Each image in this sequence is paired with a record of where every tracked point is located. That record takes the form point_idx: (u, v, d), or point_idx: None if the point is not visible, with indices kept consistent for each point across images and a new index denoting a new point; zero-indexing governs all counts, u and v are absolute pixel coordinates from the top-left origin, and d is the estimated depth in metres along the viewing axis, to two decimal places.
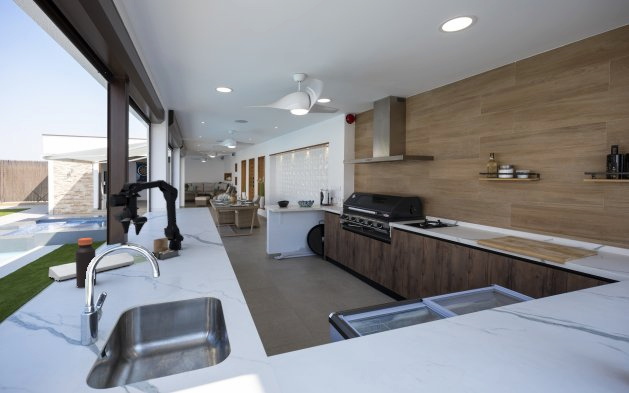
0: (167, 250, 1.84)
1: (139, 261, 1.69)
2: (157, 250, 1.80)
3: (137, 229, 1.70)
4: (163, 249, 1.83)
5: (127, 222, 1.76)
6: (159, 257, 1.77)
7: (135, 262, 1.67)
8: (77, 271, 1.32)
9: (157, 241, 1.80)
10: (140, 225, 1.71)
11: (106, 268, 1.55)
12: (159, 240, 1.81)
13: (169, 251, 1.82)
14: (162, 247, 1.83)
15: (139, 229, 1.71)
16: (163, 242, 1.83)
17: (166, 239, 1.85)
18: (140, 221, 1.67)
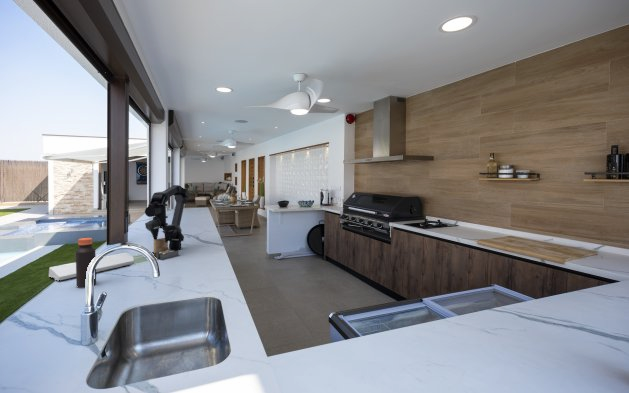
0: (167, 250, 1.84)
1: (139, 261, 1.69)
2: (157, 250, 1.80)
3: (166, 237, 1.79)
4: (163, 249, 1.83)
5: (156, 230, 1.85)
6: (159, 257, 1.77)
7: (135, 262, 1.67)
8: (77, 271, 1.32)
9: (157, 241, 1.80)
10: (169, 233, 1.81)
11: (106, 268, 1.55)
12: (159, 240, 1.81)
13: (169, 251, 1.82)
14: (162, 247, 1.83)
15: (168, 237, 1.81)
16: (163, 242, 1.83)
17: None
18: (170, 229, 1.77)
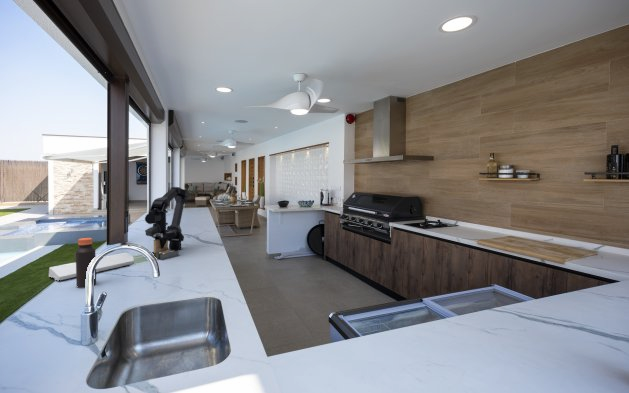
0: (167, 250, 1.84)
1: (139, 261, 1.69)
2: (157, 250, 1.80)
3: (162, 243, 1.81)
4: (163, 249, 1.83)
5: None
6: (159, 257, 1.77)
7: (135, 262, 1.67)
8: (77, 271, 1.32)
9: (157, 241, 1.80)
10: (165, 239, 1.82)
11: (106, 268, 1.55)
12: (159, 240, 1.81)
13: (169, 251, 1.82)
14: None
15: (164, 243, 1.82)
16: None
17: None
18: (170, 236, 1.77)
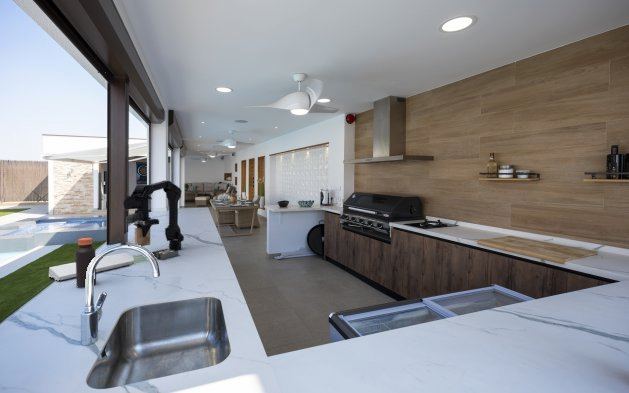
0: (167, 250, 1.84)
1: (139, 261, 1.69)
2: (138, 239, 1.69)
3: (144, 231, 1.71)
4: (145, 238, 1.73)
5: (143, 225, 1.74)
6: (159, 257, 1.77)
7: (135, 262, 1.67)
8: (77, 271, 1.32)
9: (138, 230, 1.69)
10: (147, 227, 1.72)
11: (106, 268, 1.55)
12: (141, 229, 1.70)
13: (169, 251, 1.82)
14: None
15: (146, 231, 1.72)
16: None
17: None
18: (152, 223, 1.67)
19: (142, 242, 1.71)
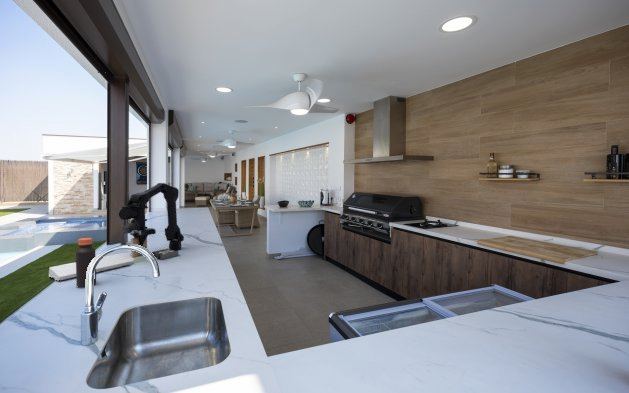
0: (167, 250, 1.84)
1: (139, 261, 1.69)
2: None
3: (141, 240, 1.69)
4: None
5: None
6: (159, 257, 1.77)
7: (135, 262, 1.67)
8: (77, 271, 1.32)
9: (135, 240, 1.68)
10: (144, 236, 1.71)
11: (106, 268, 1.55)
12: (137, 239, 1.69)
13: (169, 251, 1.82)
14: None
15: (143, 240, 1.71)
16: None
17: None
18: (148, 233, 1.65)
19: None
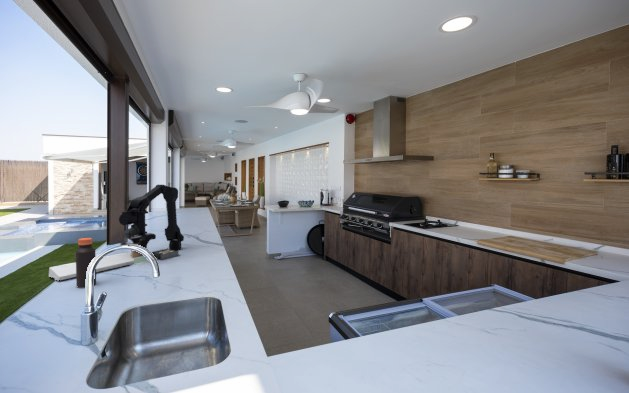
0: (167, 250, 1.84)
1: (139, 261, 1.69)
2: (135, 255, 1.68)
3: None
4: None
5: (138, 239, 1.73)
6: (159, 257, 1.77)
7: (135, 262, 1.67)
8: (77, 271, 1.32)
9: None
10: (145, 242, 1.70)
11: (106, 268, 1.55)
12: None
13: (169, 251, 1.82)
14: None
15: (144, 246, 1.70)
16: None
17: None
18: (148, 238, 1.65)
19: None
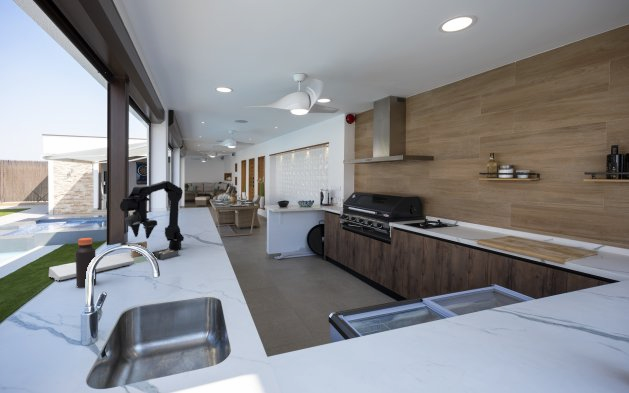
0: (167, 250, 1.84)
1: (139, 261, 1.69)
2: (135, 255, 1.68)
3: (147, 232, 1.72)
4: None
5: (137, 225, 1.78)
6: (159, 257, 1.77)
7: (135, 262, 1.67)
8: (77, 271, 1.32)
9: None
10: (150, 228, 1.73)
11: (106, 268, 1.55)
12: None
13: (169, 251, 1.82)
14: None
15: (149, 232, 1.73)
16: None
17: (145, 243, 1.73)
18: (150, 225, 1.70)
19: None
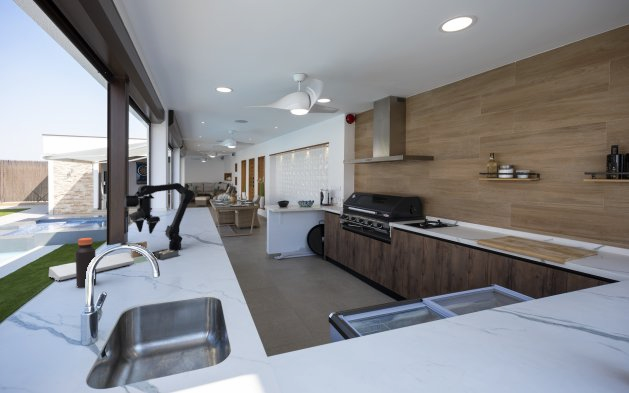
0: (167, 250, 1.84)
1: (139, 261, 1.69)
2: (135, 255, 1.68)
3: (150, 228, 1.83)
4: (141, 254, 1.72)
5: (141, 221, 1.90)
6: (159, 257, 1.77)
7: (135, 262, 1.67)
8: (77, 271, 1.32)
9: None
10: (153, 224, 1.85)
11: (106, 268, 1.55)
12: None
13: (169, 251, 1.82)
14: None
15: (152, 228, 1.85)
16: None
17: (145, 243, 1.73)
18: (153, 220, 1.81)
19: None
